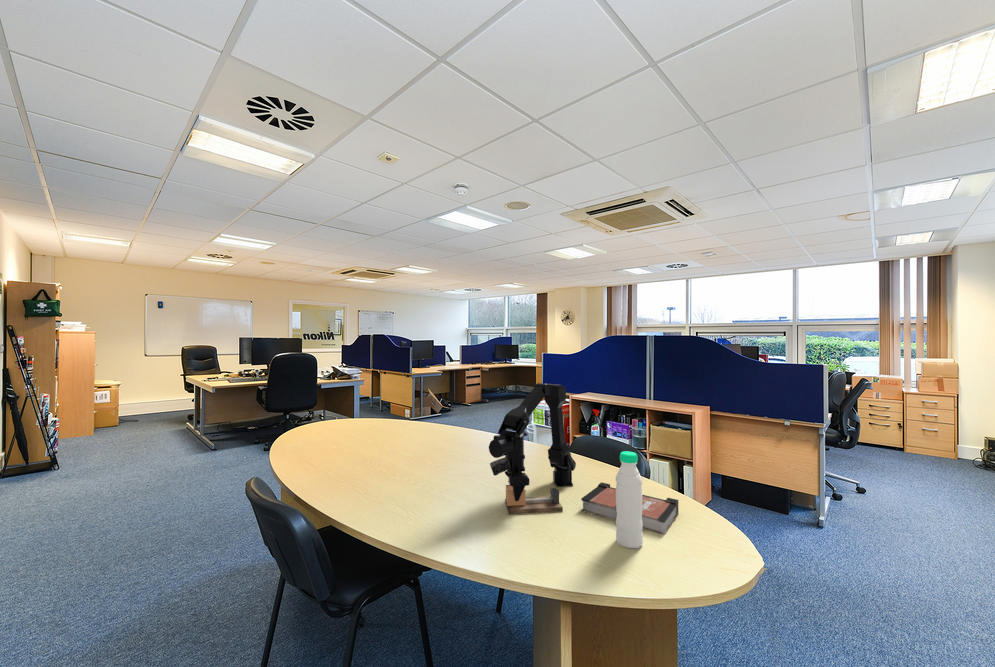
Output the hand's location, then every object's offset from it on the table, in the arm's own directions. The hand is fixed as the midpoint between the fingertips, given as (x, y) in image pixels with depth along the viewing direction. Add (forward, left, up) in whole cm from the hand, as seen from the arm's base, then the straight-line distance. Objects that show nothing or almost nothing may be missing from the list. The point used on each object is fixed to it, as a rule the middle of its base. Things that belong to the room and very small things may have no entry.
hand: (515, 497), depth 132 cm
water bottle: (-28, +26, -4) cm, 38 cm away
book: (-36, +8, -4) cm, 37 cm away
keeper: (0, 0, -2) cm, 2 cm away
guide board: (-6, 0, -4) cm, 7 cm away
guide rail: (-6, 0, -2) cm, 6 cm away
